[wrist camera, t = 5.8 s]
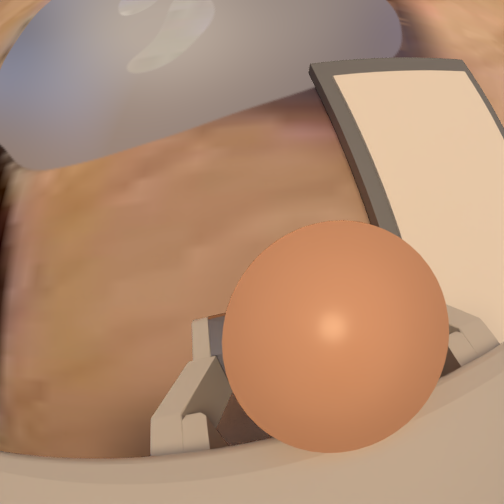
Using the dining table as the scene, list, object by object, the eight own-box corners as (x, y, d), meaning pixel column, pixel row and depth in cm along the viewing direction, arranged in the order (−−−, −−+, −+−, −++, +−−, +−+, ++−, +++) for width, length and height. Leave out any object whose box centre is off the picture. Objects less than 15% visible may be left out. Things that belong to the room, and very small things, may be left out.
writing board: (415, 404, 15) (424, 409, 14) (308, 73, 19) (310, 61, 18) (554, 320, 16) (564, 319, 14) (457, 66, 20) (463, 58, 18)
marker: (260, 366, 16) (257, 477, 4) (242, 296, 17) (195, 254, 5) (331, 346, 16) (462, 402, 4) (312, 277, 17) (413, 198, 5)
